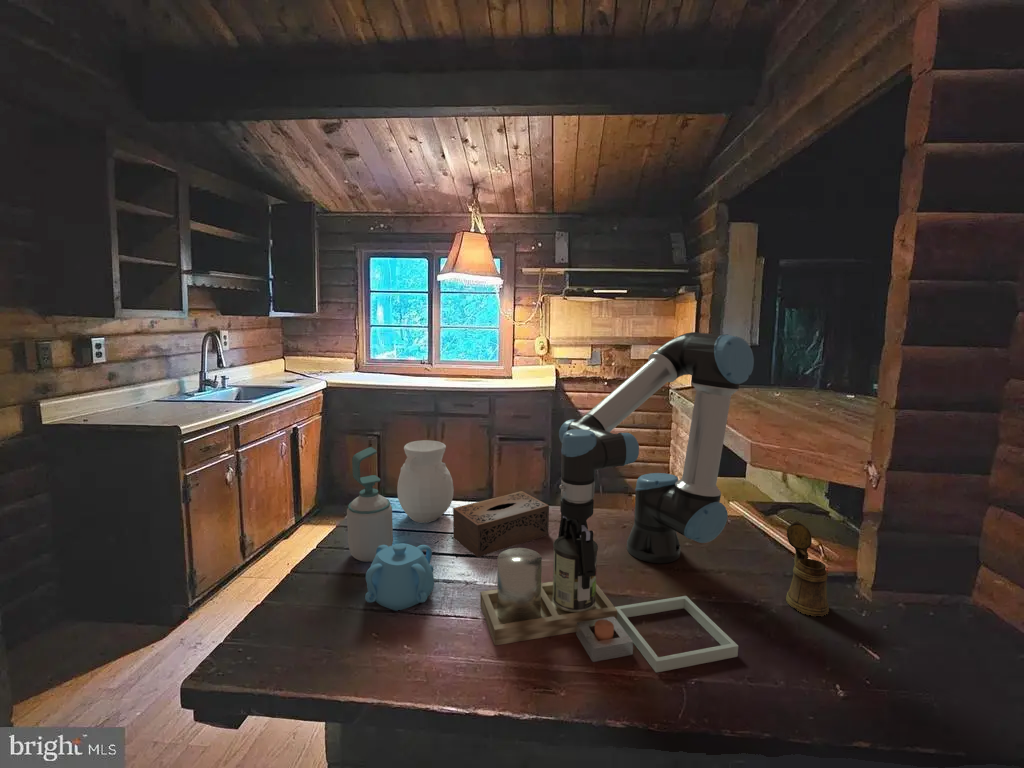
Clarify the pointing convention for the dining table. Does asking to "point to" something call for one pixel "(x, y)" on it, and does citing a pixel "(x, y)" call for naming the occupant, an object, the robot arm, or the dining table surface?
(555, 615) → the divided wooden tray
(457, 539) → the tissue box cover
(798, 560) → the wooden mug
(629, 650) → the button housing
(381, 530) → the soap bottle
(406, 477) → the white vase
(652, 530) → the robot arm
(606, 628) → the button
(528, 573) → the grey rounded cylinder piece
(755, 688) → the dining table surface
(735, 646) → the white square frame
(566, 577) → the coffee can
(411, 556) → the decorative pot
